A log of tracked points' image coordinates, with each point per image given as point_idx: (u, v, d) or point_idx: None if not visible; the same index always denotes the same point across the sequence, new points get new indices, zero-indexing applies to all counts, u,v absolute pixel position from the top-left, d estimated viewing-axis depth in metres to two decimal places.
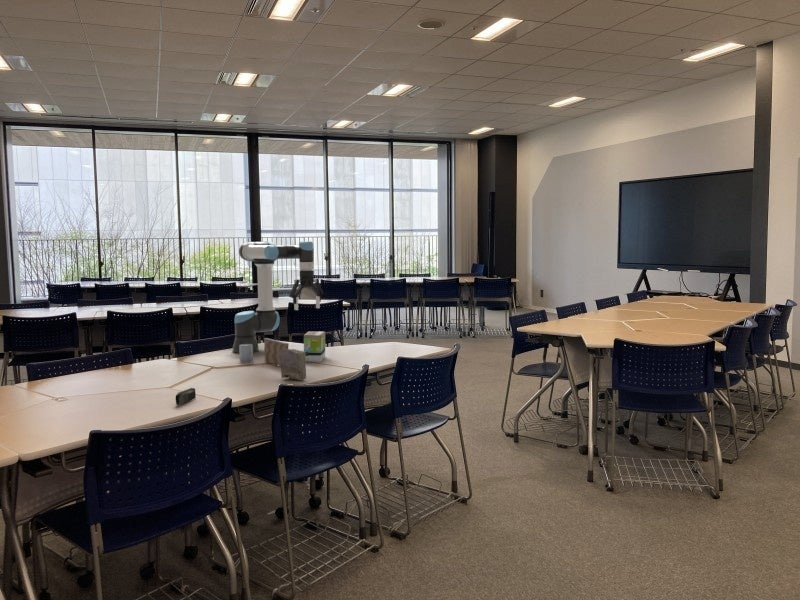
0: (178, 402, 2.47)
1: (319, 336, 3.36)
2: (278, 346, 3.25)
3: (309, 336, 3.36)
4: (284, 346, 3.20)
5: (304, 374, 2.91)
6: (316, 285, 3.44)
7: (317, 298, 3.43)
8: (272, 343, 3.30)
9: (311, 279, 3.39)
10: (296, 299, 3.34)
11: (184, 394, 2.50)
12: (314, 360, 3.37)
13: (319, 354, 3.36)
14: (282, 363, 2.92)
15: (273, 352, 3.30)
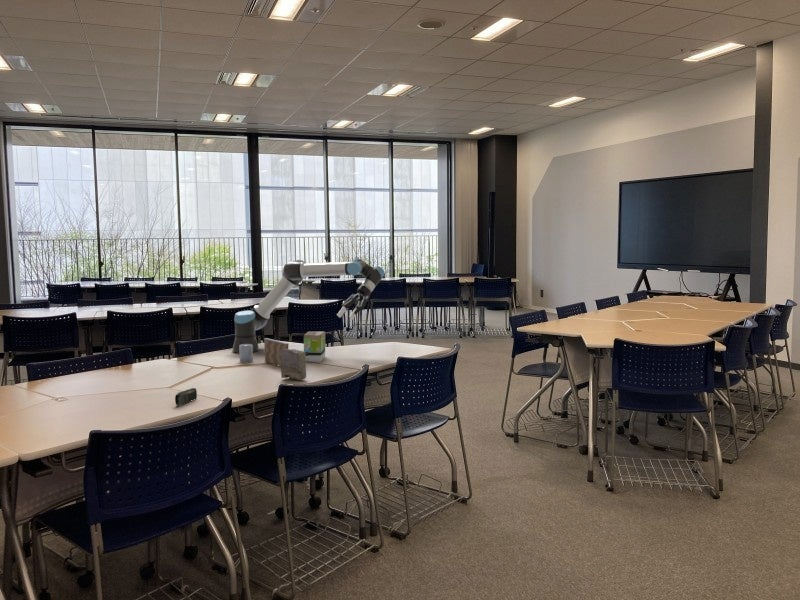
0: (177, 402, 2.47)
1: (319, 336, 3.36)
2: (278, 346, 3.25)
3: (309, 336, 3.36)
4: (284, 346, 3.20)
5: (304, 374, 2.91)
6: (350, 299, 3.64)
7: (344, 309, 3.62)
8: (272, 343, 3.30)
9: None
10: (358, 311, 3.52)
11: (184, 394, 2.50)
12: (314, 360, 3.37)
13: (319, 354, 3.36)
14: (282, 363, 2.92)
15: (273, 352, 3.30)
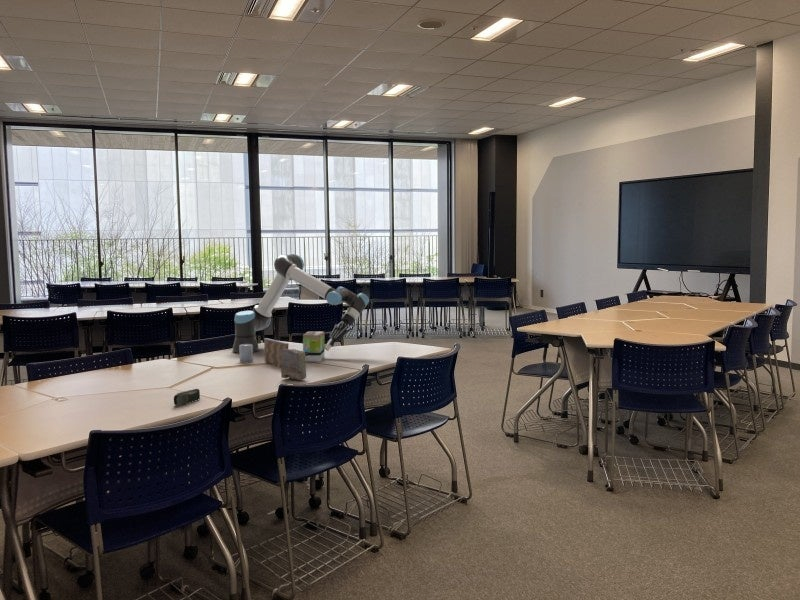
0: (176, 403, 2.46)
1: (318, 336, 3.36)
2: (278, 346, 3.25)
3: (308, 336, 3.36)
4: (284, 346, 3.20)
5: (304, 374, 2.91)
6: (335, 329, 3.55)
7: None
8: (272, 343, 3.30)
9: None
10: (333, 342, 3.50)
11: (183, 395, 2.49)
12: (313, 360, 3.37)
13: (318, 354, 3.36)
14: (282, 363, 2.92)
15: (273, 352, 3.30)
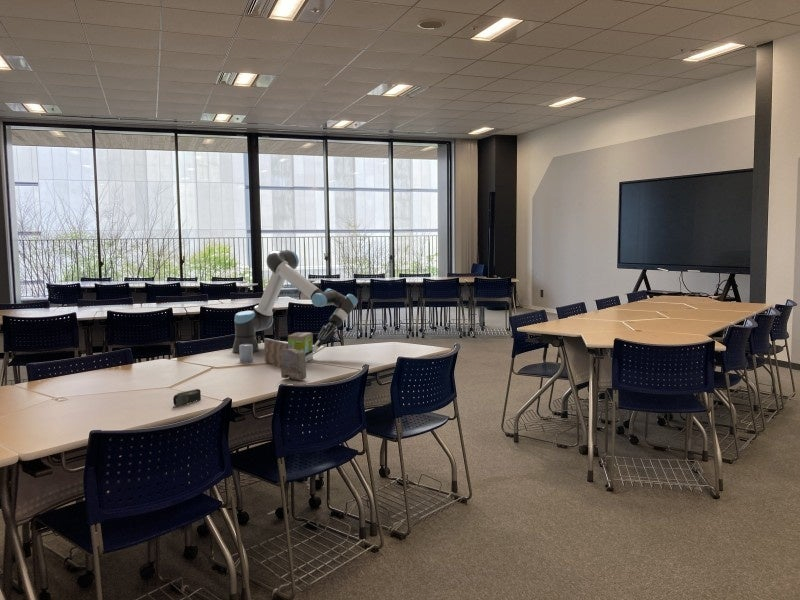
0: (175, 403, 2.46)
1: (303, 337, 3.31)
2: (278, 346, 3.25)
3: (293, 337, 3.32)
4: (284, 346, 3.20)
5: (304, 374, 2.91)
6: (323, 330, 3.50)
7: None
8: (272, 343, 3.30)
9: None
10: None
11: (183, 395, 2.48)
12: None
13: None
14: (282, 363, 2.92)
15: (273, 352, 3.30)
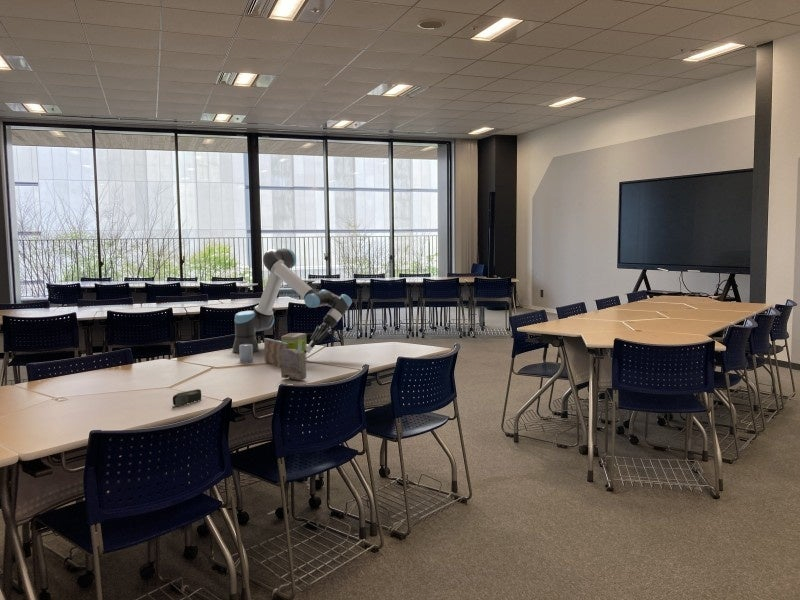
0: (174, 403, 2.46)
1: (296, 338, 3.30)
2: (278, 346, 3.25)
3: (286, 338, 3.31)
4: (284, 346, 3.20)
5: (304, 374, 2.91)
6: (316, 331, 3.48)
7: None
8: (272, 343, 3.30)
9: None
10: (314, 344, 3.43)
11: (182, 395, 2.48)
12: None
13: None
14: (282, 363, 2.92)
15: (273, 352, 3.30)
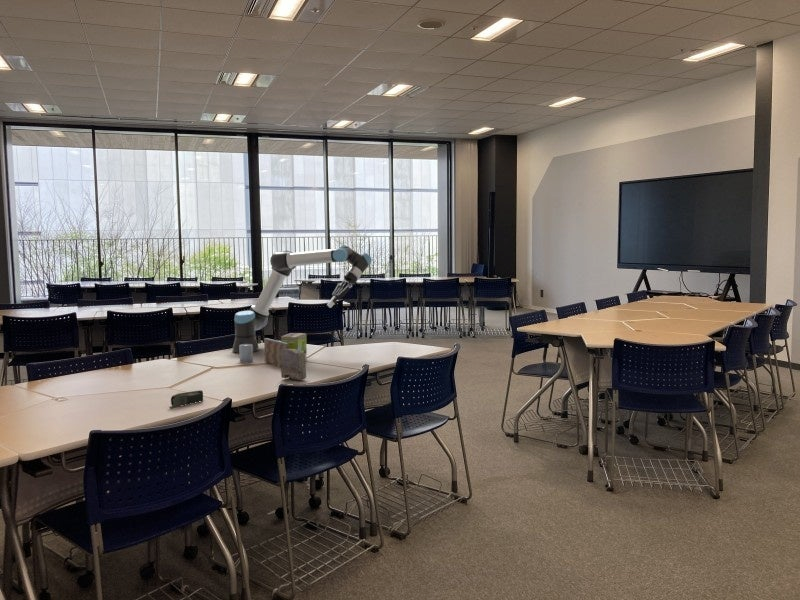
0: (172, 403, 2.45)
1: (296, 338, 3.30)
2: (278, 346, 3.25)
3: (286, 338, 3.31)
4: (284, 346, 3.20)
5: (304, 374, 2.91)
6: (338, 287, 3.61)
7: None
8: (272, 343, 3.30)
9: None
10: (336, 300, 3.56)
11: (181, 396, 2.47)
12: None
13: None
14: (282, 363, 2.92)
15: (273, 352, 3.30)
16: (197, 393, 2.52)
